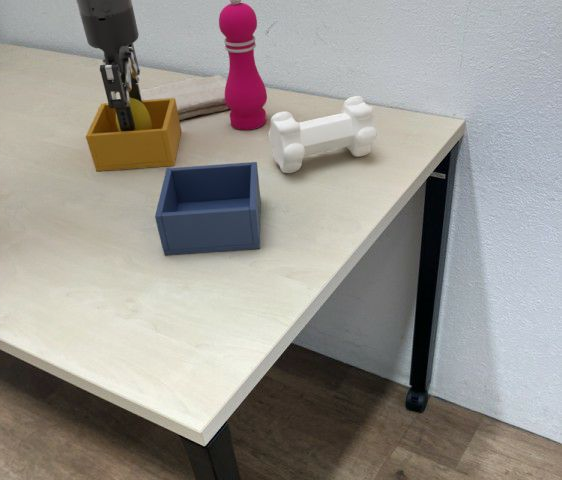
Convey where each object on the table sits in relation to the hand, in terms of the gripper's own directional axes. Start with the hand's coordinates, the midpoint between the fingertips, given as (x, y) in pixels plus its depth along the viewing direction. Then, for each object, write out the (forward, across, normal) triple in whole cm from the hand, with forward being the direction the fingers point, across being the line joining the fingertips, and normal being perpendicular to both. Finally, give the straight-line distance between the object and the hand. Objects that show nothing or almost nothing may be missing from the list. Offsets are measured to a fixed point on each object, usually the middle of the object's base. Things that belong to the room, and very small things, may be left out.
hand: (132, 119), depth 98 cm
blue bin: (+5, +25, +14) cm, 29 cm away
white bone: (+5, +8, +30) cm, 32 cm away
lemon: (+5, 0, 0) cm, 5 cm away
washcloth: (+5, -17, +7) cm, 19 cm away
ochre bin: (+5, 0, 0) cm, 5 cm away
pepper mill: (+5, -8, +18) cm, 21 cm away
